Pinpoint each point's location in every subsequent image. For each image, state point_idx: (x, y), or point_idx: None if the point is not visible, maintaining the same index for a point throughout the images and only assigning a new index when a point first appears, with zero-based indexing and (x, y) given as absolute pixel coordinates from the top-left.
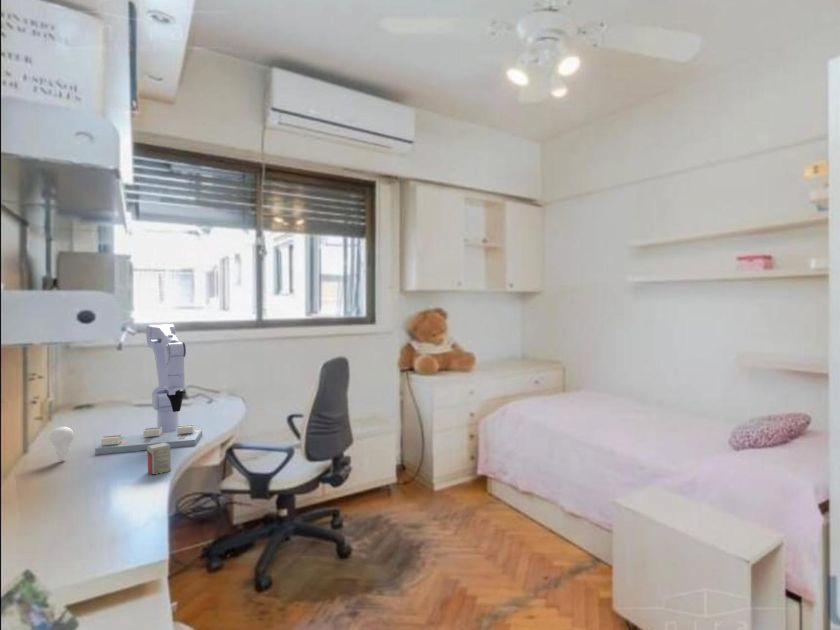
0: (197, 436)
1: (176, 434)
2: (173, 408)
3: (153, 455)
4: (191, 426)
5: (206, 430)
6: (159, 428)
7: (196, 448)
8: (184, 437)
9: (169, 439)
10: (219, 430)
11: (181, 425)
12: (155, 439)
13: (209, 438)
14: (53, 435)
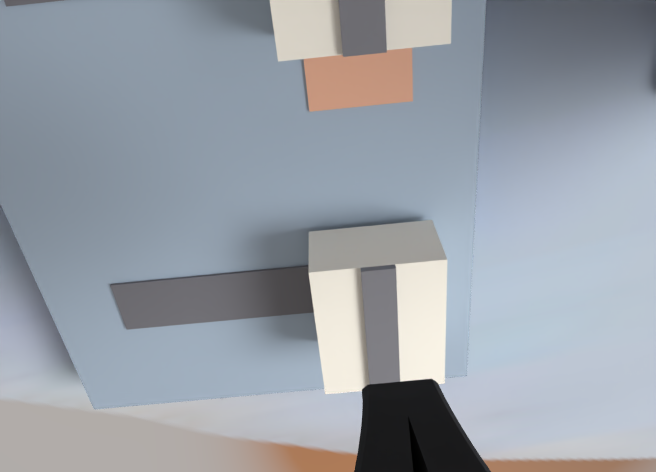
0: (208, 398)
1: (336, 210)
2: (362, 448)
3: None
4: (338, 386)
5: (616, 335)
6: (341, 47)
7: (19, 398)
8: (172, 321)
9: (116, 207)
10: (555, 418)
11: (438, 279)
12: (136, 41)
13: (306, 410)
14: None
